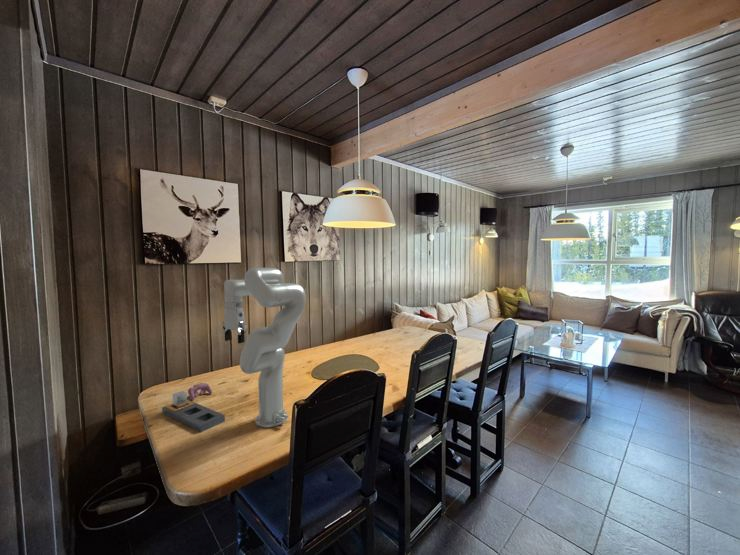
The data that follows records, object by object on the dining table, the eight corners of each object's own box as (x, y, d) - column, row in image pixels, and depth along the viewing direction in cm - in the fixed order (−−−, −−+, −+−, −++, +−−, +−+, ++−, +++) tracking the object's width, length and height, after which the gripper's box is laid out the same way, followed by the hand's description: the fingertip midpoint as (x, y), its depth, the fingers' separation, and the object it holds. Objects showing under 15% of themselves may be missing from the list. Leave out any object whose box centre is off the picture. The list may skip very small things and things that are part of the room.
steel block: (187, 410, 137) (186, 392, 137) (177, 414, 134) (177, 396, 133) (182, 408, 139) (182, 390, 139) (173, 412, 136) (172, 394, 135)
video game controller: (209, 395, 156) (206, 381, 158) (213, 393, 154) (210, 379, 155) (188, 402, 149) (185, 387, 150) (192, 400, 146) (188, 385, 148)
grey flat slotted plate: (224, 421, 127) (224, 414, 127) (200, 432, 119) (200, 425, 119) (185, 404, 143) (185, 398, 143) (162, 413, 135) (161, 406, 135)
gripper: (252, 305, 144) (253, 341, 145) (229, 303, 153) (230, 337, 154) (238, 307, 138) (239, 345, 139) (215, 305, 147) (216, 341, 148)
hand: (234, 341), depth 146 cm, fingers open, 9 cm apart
